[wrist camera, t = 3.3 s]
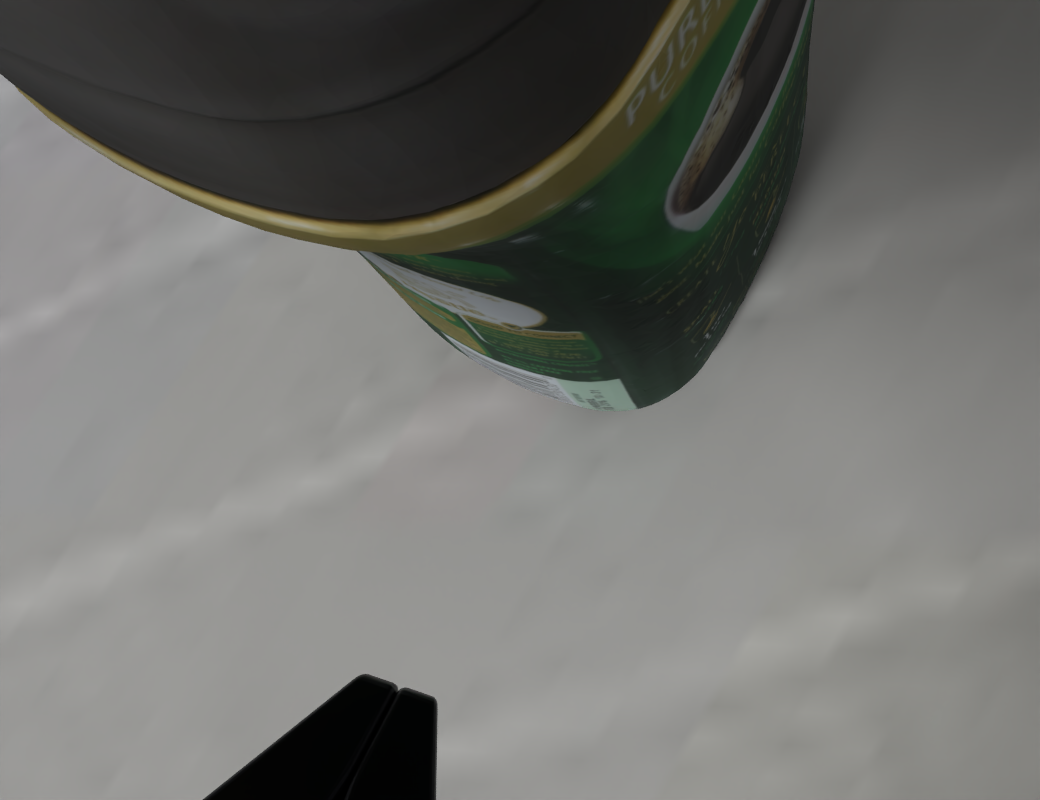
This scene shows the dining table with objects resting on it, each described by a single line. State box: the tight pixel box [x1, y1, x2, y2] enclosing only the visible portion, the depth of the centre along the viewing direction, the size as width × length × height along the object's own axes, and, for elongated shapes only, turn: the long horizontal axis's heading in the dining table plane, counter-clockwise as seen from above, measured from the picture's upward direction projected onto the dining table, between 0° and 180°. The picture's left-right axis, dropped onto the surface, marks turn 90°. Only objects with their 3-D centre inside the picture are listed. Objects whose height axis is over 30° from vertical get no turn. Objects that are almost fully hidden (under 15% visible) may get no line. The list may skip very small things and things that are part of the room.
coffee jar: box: [0, 0, 815, 411], centre depth 14 cm, size 10×8×19 cm
